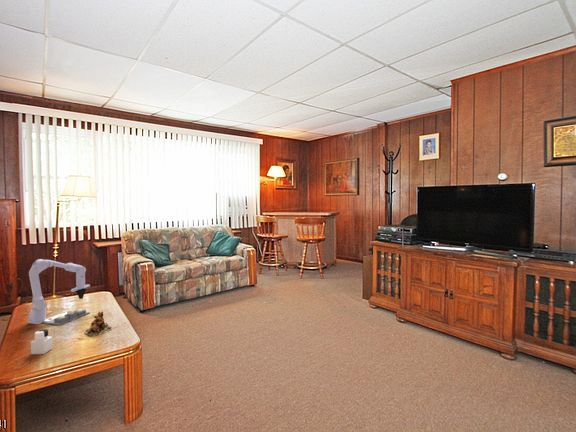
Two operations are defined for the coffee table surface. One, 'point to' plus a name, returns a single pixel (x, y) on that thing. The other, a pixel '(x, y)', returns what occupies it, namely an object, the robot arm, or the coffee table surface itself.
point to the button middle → (70, 312)
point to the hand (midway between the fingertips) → (81, 298)
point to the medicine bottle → (41, 342)
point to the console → (56, 321)
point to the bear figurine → (98, 326)
